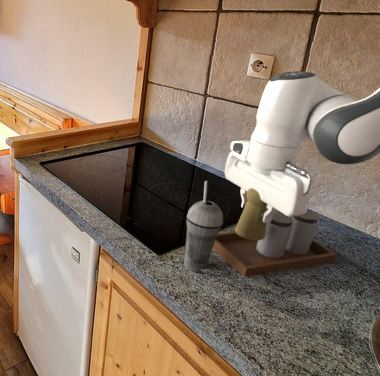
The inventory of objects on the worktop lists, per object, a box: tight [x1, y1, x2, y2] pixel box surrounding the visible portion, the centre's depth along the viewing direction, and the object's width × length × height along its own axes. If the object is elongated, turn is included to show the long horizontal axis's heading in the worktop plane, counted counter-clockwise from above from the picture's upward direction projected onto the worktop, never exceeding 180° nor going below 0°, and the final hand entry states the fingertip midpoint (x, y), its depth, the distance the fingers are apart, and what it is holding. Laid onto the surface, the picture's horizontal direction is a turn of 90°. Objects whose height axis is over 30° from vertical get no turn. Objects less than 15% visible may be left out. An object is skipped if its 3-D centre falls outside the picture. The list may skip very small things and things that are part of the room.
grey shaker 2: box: [286, 209, 320, 254], centre depth 93 cm, size 6×6×9 cm
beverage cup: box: [183, 180, 224, 272], centre depth 85 cm, size 7×7×20 cm
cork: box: [234, 188, 268, 241], centre depth 87 cm, size 6×6×11 cm
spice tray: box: [212, 230, 338, 278], centre depth 93 cm, size 24×14×3 cm, turn 105°
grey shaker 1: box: [256, 211, 293, 258], centre depth 91 cm, size 6×6×9 cm
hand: (255, 214), depth 87 cm, fingers closed on cork, 4 cm apart
